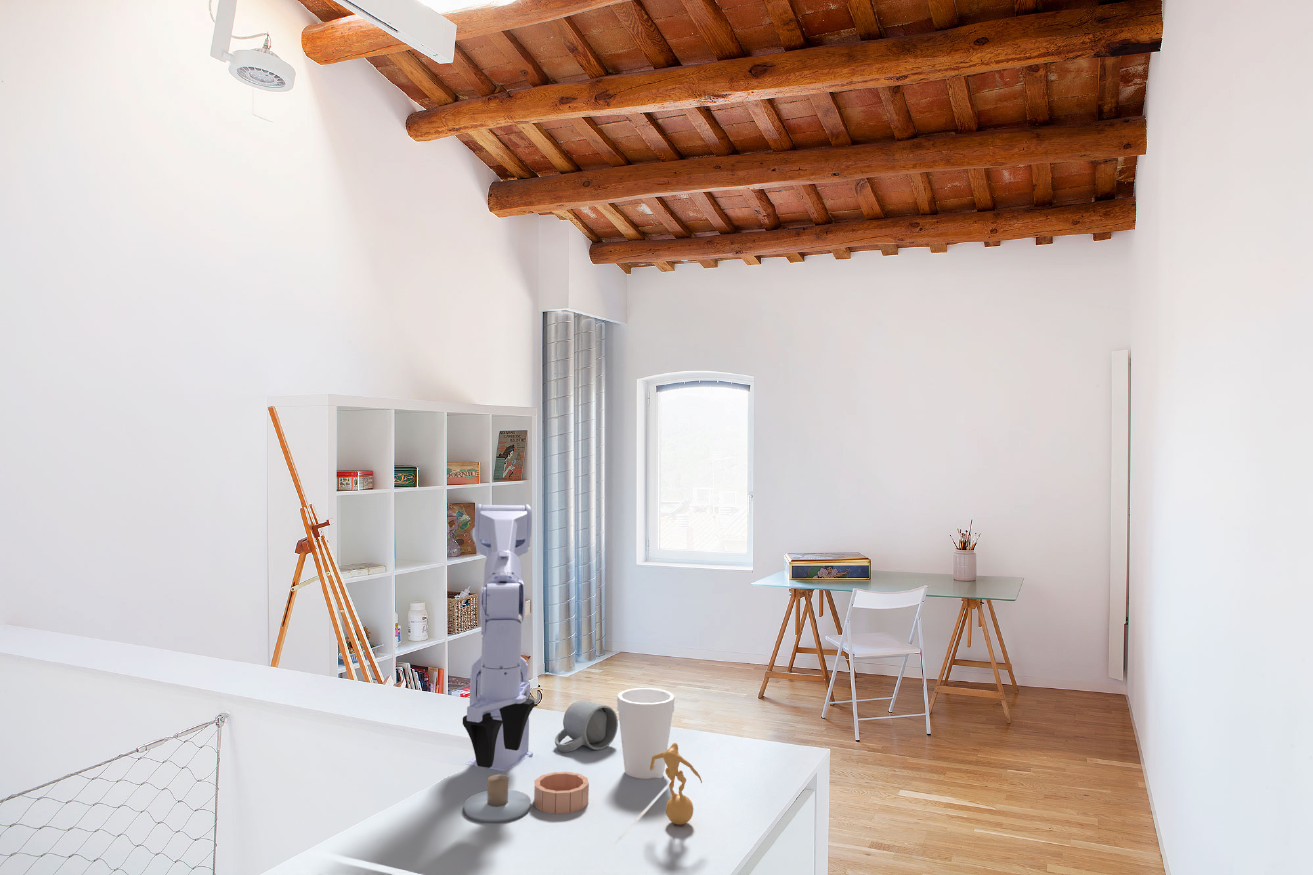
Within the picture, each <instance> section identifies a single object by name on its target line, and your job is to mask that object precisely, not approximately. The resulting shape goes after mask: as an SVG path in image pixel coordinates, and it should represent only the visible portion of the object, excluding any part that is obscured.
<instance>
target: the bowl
mask: <svg viewBox="0 0 1313 875" xmlns="http://www.w3.org/2000/svg"><path fill="white" fill-rule="evenodd" d="M589 788H590V784H589V778H588V777H586V776H584V775H583V774H580V773H578V772H572V771H556V772H555V771H554V772H549V773H547V774H542V775H540V776H539V777H538V778H536V779H535V780H534V786H533V789H534V793H533V796H534V797H533V801H534V802H533V803H534V804H533V805H534V807H535V808H536V809H538V810H539V811H542V812H543V813H547V814H548V813H549V814H557V815H559V814H571V813H574V812H577V811H578V812H579V811H580V810H581V811H582V810H583V809H584V808H585V807H586V806H587V805H588V804H589V795H590V794H589Z"/></svg>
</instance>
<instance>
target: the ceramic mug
mask: <svg viewBox="0 0 1313 875" xmlns="http://www.w3.org/2000/svg"><path fill="white" fill-rule="evenodd" d="M563 715H564V716H563V720H562V726H563V729H562V730H561V731H559V733H557V735H556V736H555V737H554V744H555V746H556V749H557V750H558V751H559V752H561V753H568V752H572V751H575V750H576V749H578V748H581V746H585V747H588V748H589V749H592V750H595V751H600V750H603V749H606V748H607V747H609V746H610V745H611V743H613V742H614V739H615V738H616V735H617V732H618V727H619V722H618V721H619V719H618V716H617V713H616V712H615V710H614V709H613V708H612V707H611V706H610V705H606V704H601V703H596V702H592V701H589V700H578V701H575V702H573V703H572V704H570V705H569V706H568V708H567V709H566V710H565V712H564V714H563ZM566 737H569V738H570V739H572V741H570V742H567V743H565V744H563V743H562V744H561V742H563V740H565V739H566Z"/></svg>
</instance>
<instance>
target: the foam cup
mask: <svg viewBox="0 0 1313 875" xmlns="http://www.w3.org/2000/svg"><path fill="white" fill-rule="evenodd" d="M616 702H617V703H616V705H617V706H616V710H617V712H618V721H619V728H620V737H621V738H620V739H621V745H622V747H621V749H622V756H623V757H622V758H623V766H624V773H625V774H626V775H627V776H629V777H632V778H636V779H642V780H643V779H644V780H645V779H647V780H649V779H656V778H657V779H663V777H664V775H665V774H664V773H665V770H666V763H665V761H664V758H659V759H655V761H654V765H653V766H655V767H653V768H654V770H653V768H652V770H651V771H650V765H651V761H652V757H653V756H654V755H657V754H660V753H662V752H665V751H667V750H668V749H669V748H668V747H669V741H670V740H669V738H670V734H671V725H672V718H673V713H674V712H675V695H674V693H672V692H670V691H668V690H664V689H661V688H654V687H653V688H652V687H645V688H644V687H638V688H630V689H629V688H628V689H626V690H623V691H620V692H618V694H617V698H616Z"/></svg>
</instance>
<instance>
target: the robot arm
mask: <svg viewBox="0 0 1313 875" xmlns="http://www.w3.org/2000/svg"><path fill="white" fill-rule="evenodd" d="M532 509H533V508H532V507H531V506H530V504H528V503H526V504H525V505H524V504H520V505H518V504H516V505H513V504H482V503H478V504H477V505H476V506H475V510H474V538H475V540H474V541H475V542H474V543H475V545H474V546H475V547H476V552H477V553H478V554H480V555H482V556H483V557H486V559H485V561H484V567H483V568H484V571H483V572H484V573H483V574H484V576H483V586H481V587H480V595H479V618H480V625H481V626H480V629H481V631H480V632H481V634H480V635H481V636H482V637H481V656H479V657H477V658H476V659H475V660H474V661H473V663H472V664H471V672H470V673H471V674H470V678H469V679H470V682H469V683H470V684H469V705H468V706H467V707H466V715H464V716H463V717H462V726H464V728H465V730H466V732H467V734H468V736H469V739H470V742H471V744H472V749H473V753H474V758H472V759H471V760H469V761H467V762H466V763H465V765H467V766H472V767H474V766H473V765H476V766H475V767H477V768H478V767H479V768H482V769H483V768H484V769H491V770H496V771H501V772H507V771H509V770H510V769H512V768H513V767H515V766H516V765H518V764H519V763H521V762H522V761H523V760H525V759H526V758H531V757H532V756H533V755H534V752H533V751H529V743H530V742H529V740H530V738H529V737H530V716H531V713H532V710H534V707H535V700H534V699H531V698H529V697H530V696H531V683H530V682H529V665H528V663H527V660H526V659H525V658H523V657H522V625H523V624H522V623H523V622H524V618H525V614H526V588H525V584H524V580H523V578H522V562H521V559H520V558H519V557H520V556H522V555H524V554H527V553H528V551H529V547H531V546H530V545H531V544H530V542H531V536H532V525H533V524H532V523H533V519H532V518H533V517H532V516H533V513H532V511H533V510H532ZM519 615H520V617H521V620H520V619H519Z"/></svg>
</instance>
